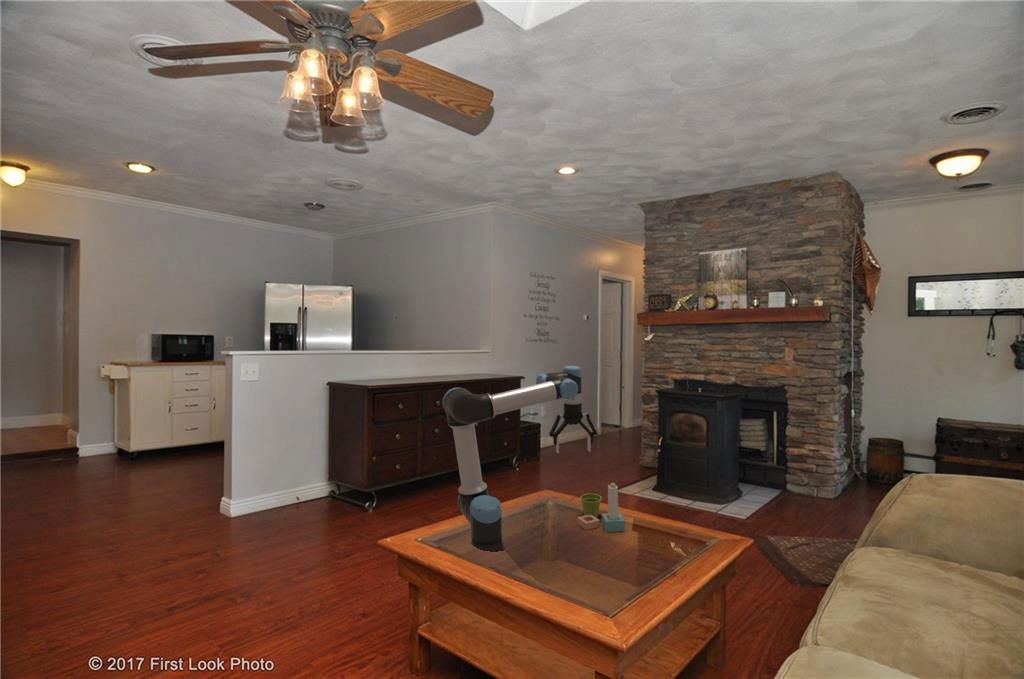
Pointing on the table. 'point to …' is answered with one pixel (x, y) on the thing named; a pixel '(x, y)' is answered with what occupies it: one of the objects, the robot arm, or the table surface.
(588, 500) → the plant pot
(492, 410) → the robot arm
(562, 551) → the table surface
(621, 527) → the teal square hollow block
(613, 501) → the light grey post
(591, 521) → the beige square hollow block
